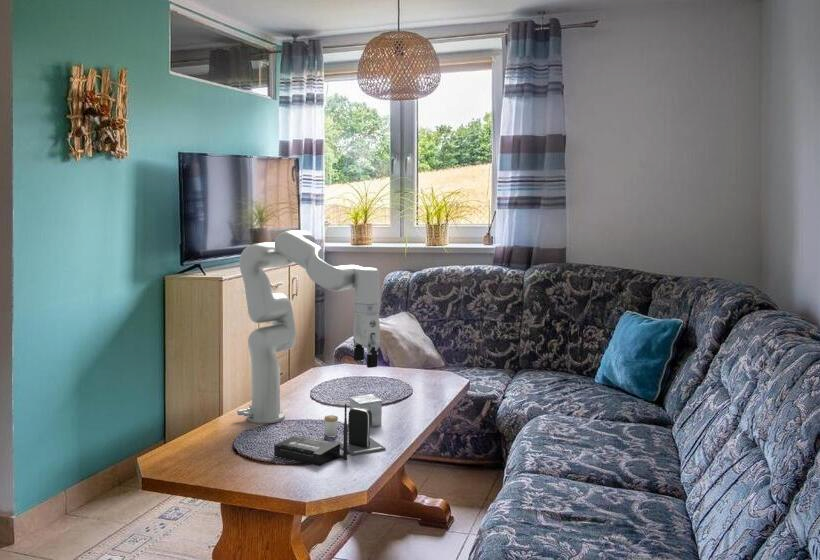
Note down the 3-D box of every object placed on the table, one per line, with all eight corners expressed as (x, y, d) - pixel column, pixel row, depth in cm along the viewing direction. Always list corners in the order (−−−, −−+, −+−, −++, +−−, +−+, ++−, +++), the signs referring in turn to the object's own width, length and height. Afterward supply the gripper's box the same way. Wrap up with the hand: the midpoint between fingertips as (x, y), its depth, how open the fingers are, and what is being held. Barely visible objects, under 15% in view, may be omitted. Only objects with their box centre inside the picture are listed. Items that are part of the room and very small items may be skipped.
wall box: (359, 429, 235) (359, 403, 234) (348, 421, 242) (348, 397, 241) (382, 425, 239) (383, 400, 238) (371, 418, 246) (371, 394, 245)
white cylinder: (327, 438, 225) (327, 420, 224) (322, 434, 229) (322, 416, 228) (339, 436, 227) (339, 418, 226) (334, 432, 231) (334, 414, 230)
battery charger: (373, 445, 218) (373, 408, 217) (366, 448, 215) (367, 411, 213) (354, 440, 222) (354, 405, 220) (347, 444, 218) (347, 408, 217)
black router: (270, 459, 207) (270, 402, 205) (298, 445, 220) (298, 391, 218) (328, 472, 198) (329, 412, 196) (354, 456, 211) (355, 400, 209)
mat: (352, 455, 210) (352, 453, 210) (337, 444, 220) (337, 442, 220) (385, 450, 216) (385, 447, 216) (369, 439, 225) (369, 436, 225)
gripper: (390, 312, 211) (388, 369, 213) (366, 303, 226) (364, 356, 228) (366, 313, 207) (365, 371, 209) (344, 304, 222) (343, 358, 225)
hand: (365, 363), depth 219 cm, fingers open, 9 cm apart
